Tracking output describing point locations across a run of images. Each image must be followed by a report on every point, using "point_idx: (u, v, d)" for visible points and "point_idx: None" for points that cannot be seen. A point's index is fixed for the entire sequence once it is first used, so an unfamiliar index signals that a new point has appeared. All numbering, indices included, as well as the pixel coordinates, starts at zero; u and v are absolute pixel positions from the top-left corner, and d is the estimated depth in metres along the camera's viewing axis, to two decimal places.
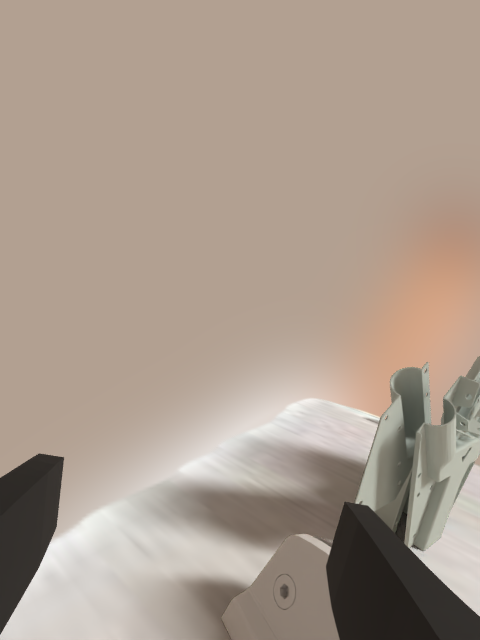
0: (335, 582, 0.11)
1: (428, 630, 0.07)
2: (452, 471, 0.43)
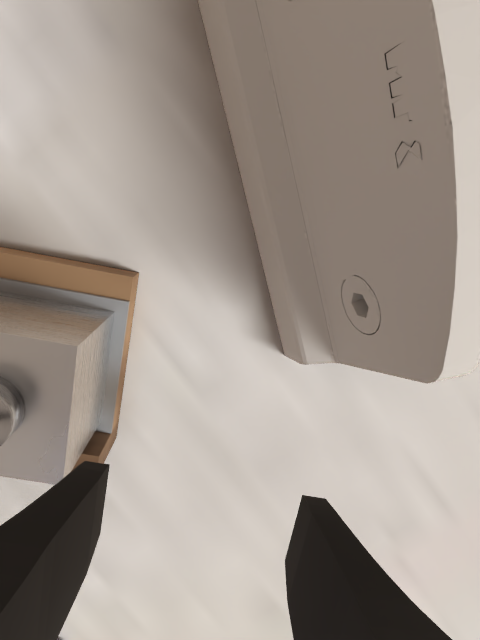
0: (291, 575, 0.11)
1: (362, 621, 0.07)
2: None
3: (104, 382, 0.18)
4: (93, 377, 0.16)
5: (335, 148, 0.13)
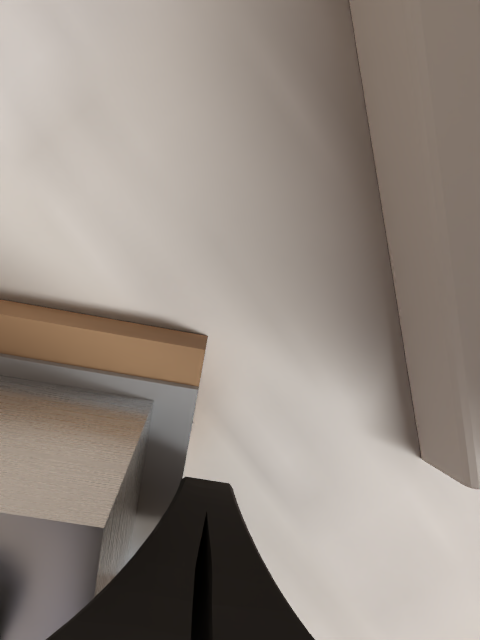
0: None
1: (211, 600, 0.07)
2: None
3: (135, 508, 0.12)
4: (123, 528, 0.10)
5: None
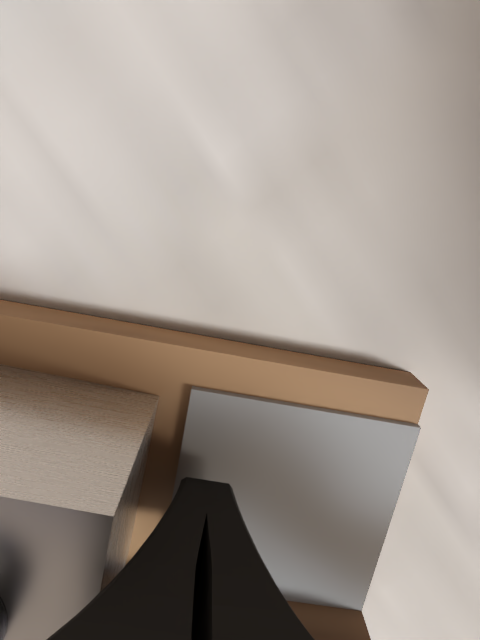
0: None
1: (211, 600, 0.07)
2: None
3: (137, 502, 0.12)
4: (127, 519, 0.10)
5: None
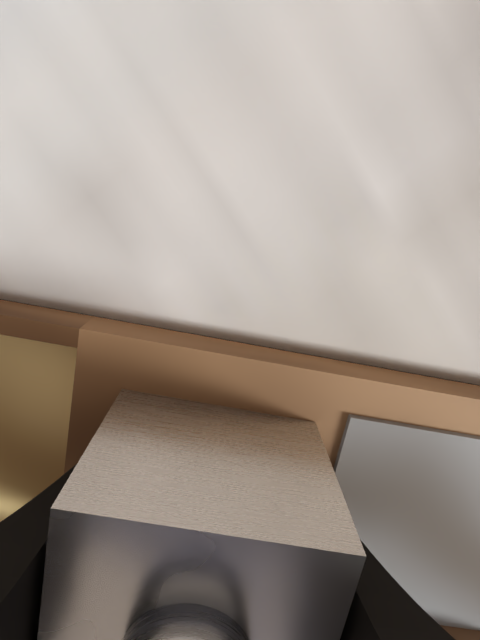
0: None
1: (366, 622, 0.07)
2: None
3: None
4: None
5: None
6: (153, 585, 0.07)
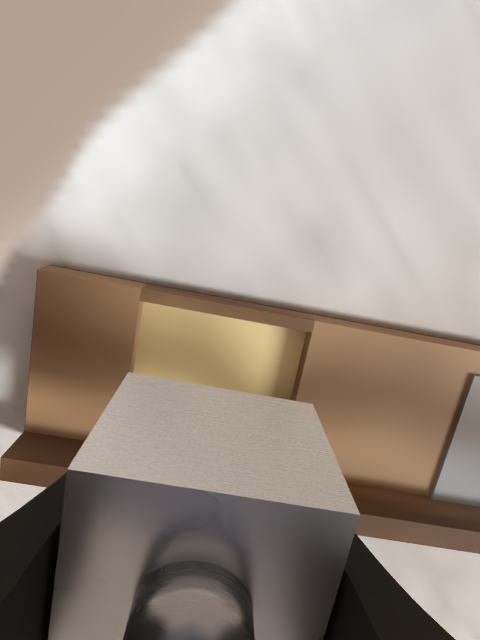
0: None
1: (366, 622, 0.07)
2: None
3: None
4: None
5: None
6: (162, 543, 0.08)
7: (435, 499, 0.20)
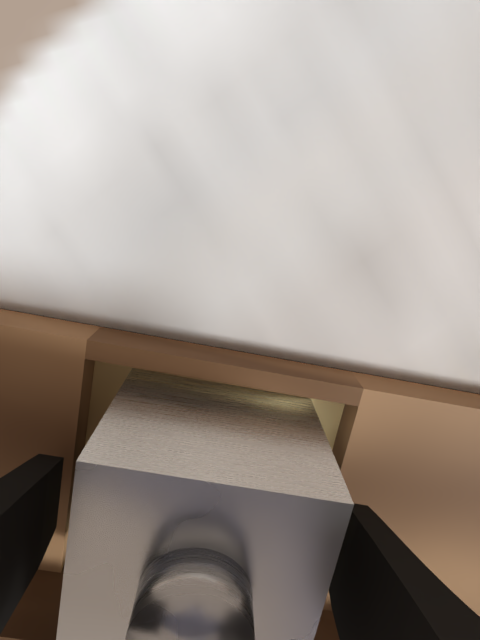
0: (335, 582, 0.11)
1: (428, 630, 0.07)
2: None
3: None
4: None
5: None
6: (166, 531, 0.08)
7: None
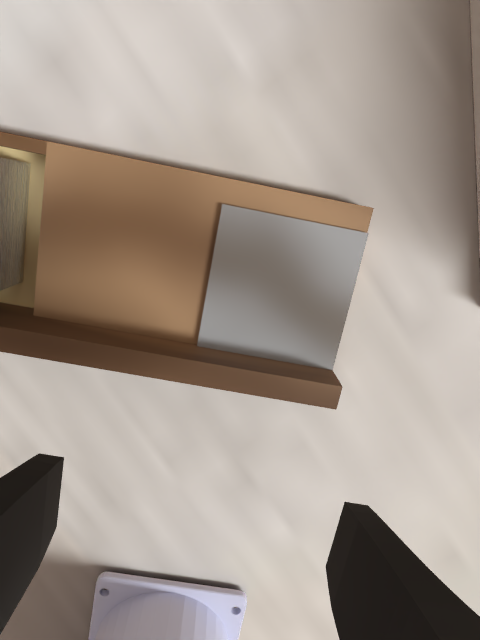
0: (335, 581, 0.11)
1: (428, 630, 0.07)
2: None
3: (23, 238, 0.19)
4: (1, 214, 0.17)
5: None
6: None
7: (201, 346, 0.19)
